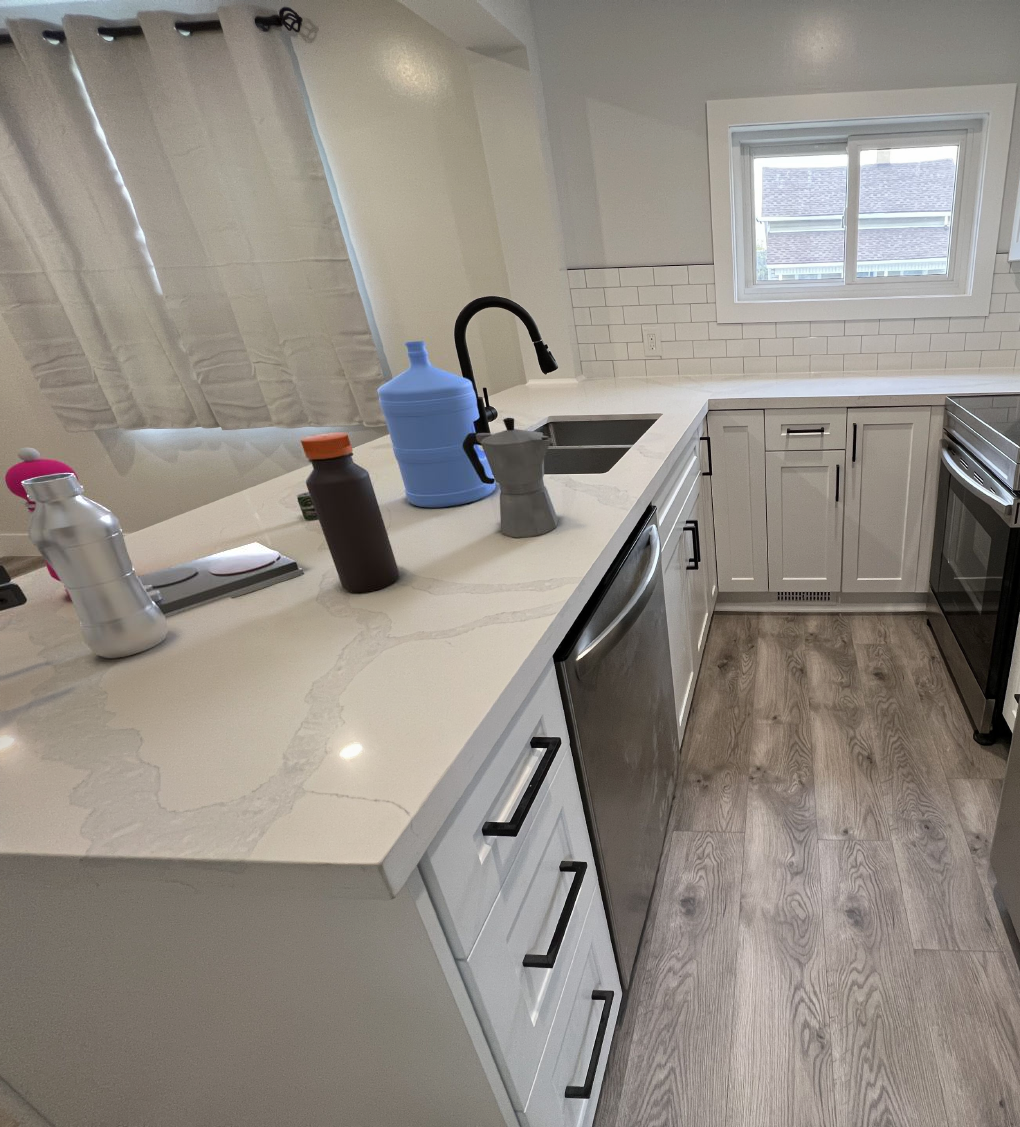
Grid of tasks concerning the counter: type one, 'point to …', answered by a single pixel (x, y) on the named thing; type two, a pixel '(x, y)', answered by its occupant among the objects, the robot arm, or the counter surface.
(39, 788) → the counter surface
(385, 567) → the vinegar
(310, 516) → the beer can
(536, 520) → the coffeepot
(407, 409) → the water jug
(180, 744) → the counter surface
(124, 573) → the silver metal bottle
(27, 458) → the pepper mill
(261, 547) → the hob
